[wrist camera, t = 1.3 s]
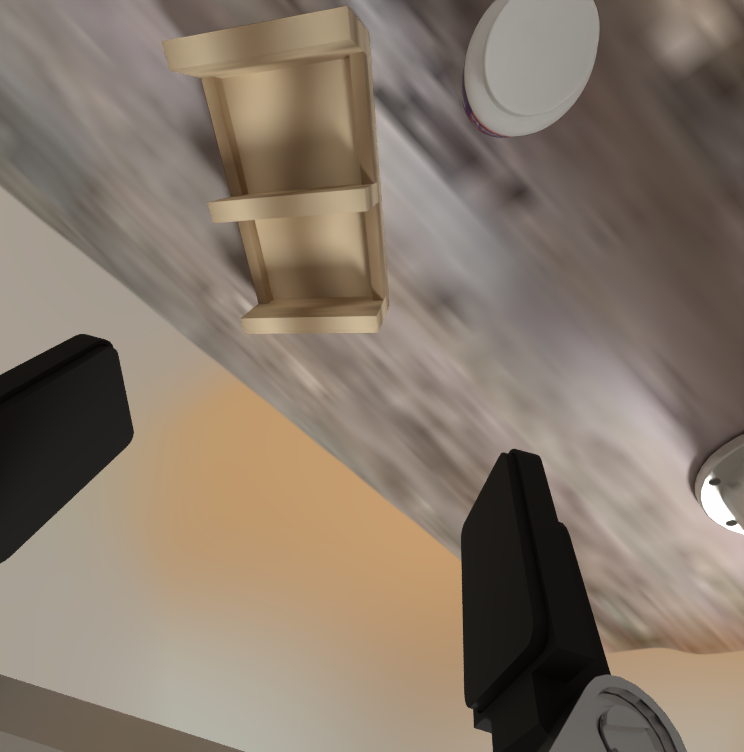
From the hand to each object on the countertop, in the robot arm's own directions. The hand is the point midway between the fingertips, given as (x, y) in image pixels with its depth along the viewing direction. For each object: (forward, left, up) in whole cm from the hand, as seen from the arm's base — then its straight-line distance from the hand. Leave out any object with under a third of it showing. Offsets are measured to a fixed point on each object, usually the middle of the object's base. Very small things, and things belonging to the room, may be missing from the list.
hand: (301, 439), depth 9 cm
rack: (+6, -3, -22) cm, 23 cm away
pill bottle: (-7, -8, -22) cm, 25 cm away
